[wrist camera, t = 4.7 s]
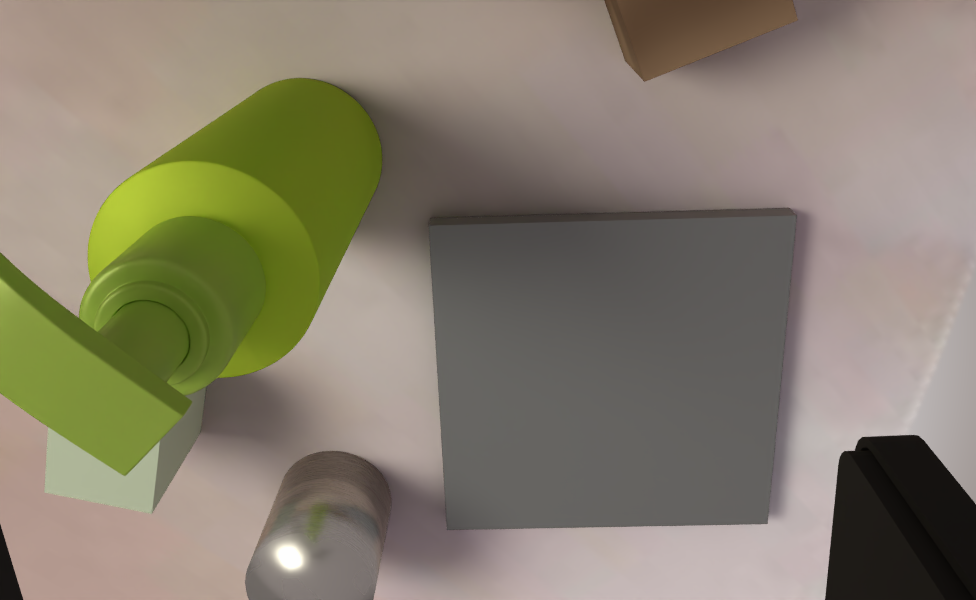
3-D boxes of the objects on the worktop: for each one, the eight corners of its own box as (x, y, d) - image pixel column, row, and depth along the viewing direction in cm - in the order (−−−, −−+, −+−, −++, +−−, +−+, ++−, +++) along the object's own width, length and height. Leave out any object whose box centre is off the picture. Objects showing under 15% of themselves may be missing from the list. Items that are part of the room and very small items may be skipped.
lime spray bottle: (274, 23, 34) (-8, 143, 15) (414, 154, 35) (315, 406, 17) (177, 138, 35) (-185, 372, 17) (315, 257, 37) (126, 590, 18)
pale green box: (115, 331, 38) (49, 399, 33) (211, 351, 39) (161, 422, 33) (108, 413, 40) (44, 492, 34) (200, 432, 40) (152, 513, 35)
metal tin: (273, 451, 40) (237, 535, 35) (387, 449, 40) (368, 533, 35) (286, 546, 42) (254, 639, 37) (395, 544, 42) (379, 637, 37)
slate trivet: (430, 217, 36) (428, 225, 35) (789, 208, 36) (796, 215, 35) (448, 516, 42) (446, 529, 41) (761, 510, 41) (767, 524, 40)
